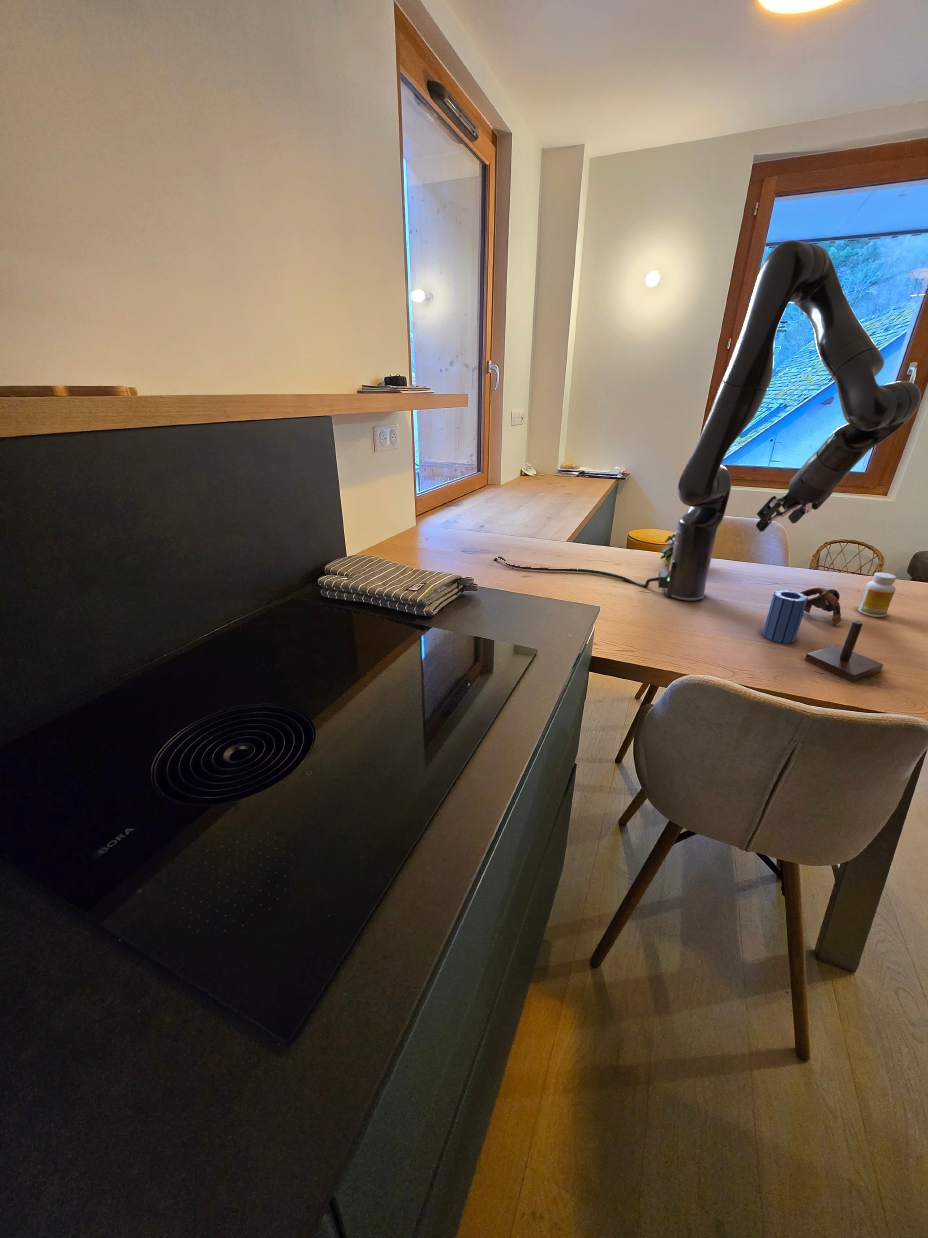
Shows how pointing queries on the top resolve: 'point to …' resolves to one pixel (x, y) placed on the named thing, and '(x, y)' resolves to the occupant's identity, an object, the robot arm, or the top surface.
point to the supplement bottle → (878, 595)
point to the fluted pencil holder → (784, 616)
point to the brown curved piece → (824, 602)
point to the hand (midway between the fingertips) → (775, 524)
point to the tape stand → (845, 658)
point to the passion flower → (668, 550)
